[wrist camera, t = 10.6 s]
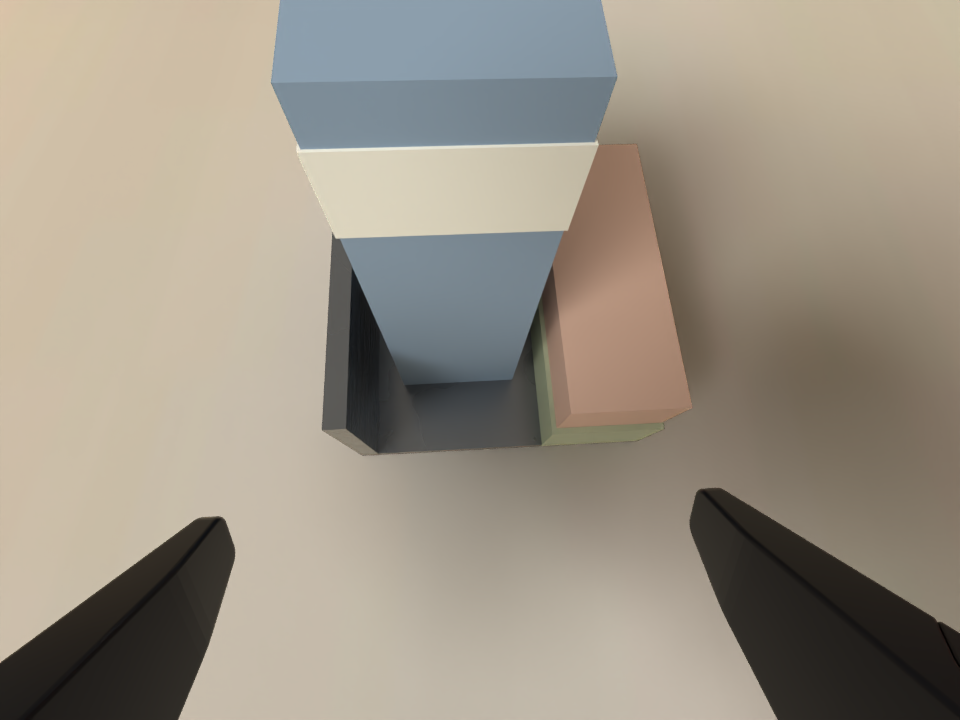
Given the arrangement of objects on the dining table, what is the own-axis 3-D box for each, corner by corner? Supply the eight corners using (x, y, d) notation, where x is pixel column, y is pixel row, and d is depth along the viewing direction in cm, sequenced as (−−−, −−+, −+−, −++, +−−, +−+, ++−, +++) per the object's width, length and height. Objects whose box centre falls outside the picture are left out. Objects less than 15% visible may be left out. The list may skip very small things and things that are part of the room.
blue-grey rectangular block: (513, 380, 17) (622, 79, 5) (403, 386, 17) (266, 85, 5) (502, 261, 19) (568, -170, 7) (401, 264, 19) (295, -173, 7)
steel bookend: (540, 446, 17) (570, 417, 12) (362, 455, 16) (321, 430, 12) (517, 214, 20) (534, 120, 15) (368, 218, 20) (338, 123, 15)
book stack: (637, 441, 17) (696, 414, 13) (540, 446, 17) (566, 421, 13) (599, 212, 20) (635, 130, 16) (517, 214, 20) (532, 132, 16)
